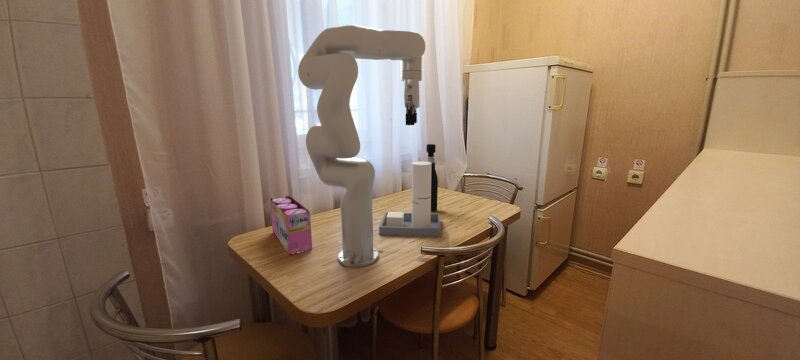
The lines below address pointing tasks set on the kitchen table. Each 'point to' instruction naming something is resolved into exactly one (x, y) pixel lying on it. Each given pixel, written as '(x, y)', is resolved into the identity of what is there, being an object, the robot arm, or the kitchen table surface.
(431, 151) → the wine bottle
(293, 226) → the gum box
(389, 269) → the kitchen table surface
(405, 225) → the tray
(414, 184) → the cylindrical container
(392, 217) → the cream box
